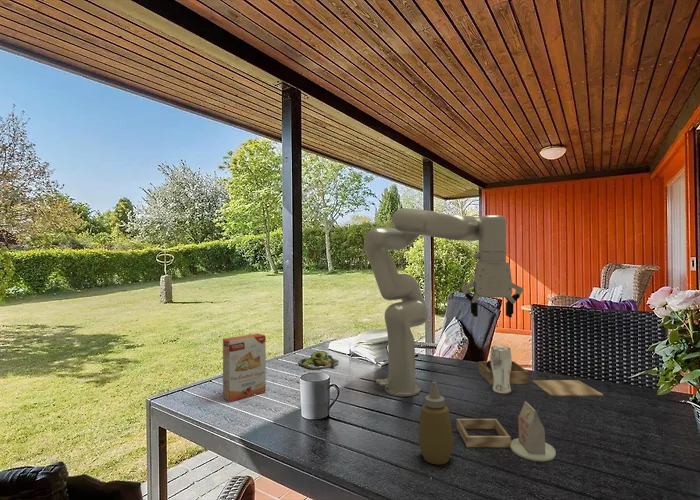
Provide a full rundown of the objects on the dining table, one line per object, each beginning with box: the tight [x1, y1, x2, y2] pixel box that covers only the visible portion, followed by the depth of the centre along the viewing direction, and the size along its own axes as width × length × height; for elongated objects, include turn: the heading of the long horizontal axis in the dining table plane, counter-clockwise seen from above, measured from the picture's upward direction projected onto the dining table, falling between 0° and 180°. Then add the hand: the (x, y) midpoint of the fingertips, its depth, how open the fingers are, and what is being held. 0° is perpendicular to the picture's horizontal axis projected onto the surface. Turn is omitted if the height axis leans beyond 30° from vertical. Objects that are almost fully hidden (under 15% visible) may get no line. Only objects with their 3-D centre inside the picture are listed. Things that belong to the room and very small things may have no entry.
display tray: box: [478, 360, 530, 385], centre depth 148 cm, size 14×14×4 cm
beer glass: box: [490, 345, 513, 395], centre depth 135 cm, size 7×7×15 cm
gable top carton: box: [517, 400, 546, 454], centre depth 93 cm, size 4×7×10 cm, turn 176°
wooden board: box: [531, 379, 604, 397], centre depth 136 cm, size 17×15×1 cm
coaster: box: [509, 437, 557, 462], centre depth 93 cm, size 10×10×1 cm
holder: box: [456, 418, 512, 448], centre depth 101 cm, size 11×11×2 cm
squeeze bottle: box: [418, 381, 454, 465], centre depth 91 cm, size 8×8×18 cm
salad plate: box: [298, 350, 340, 370], centre depth 173 cm, size 19×18×5 cm
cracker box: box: [222, 333, 267, 403], centre depth 136 cm, size 14×6×21 cm, turn 131°
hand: (491, 316), depth 111 cm, fingers open, 9 cm apart
